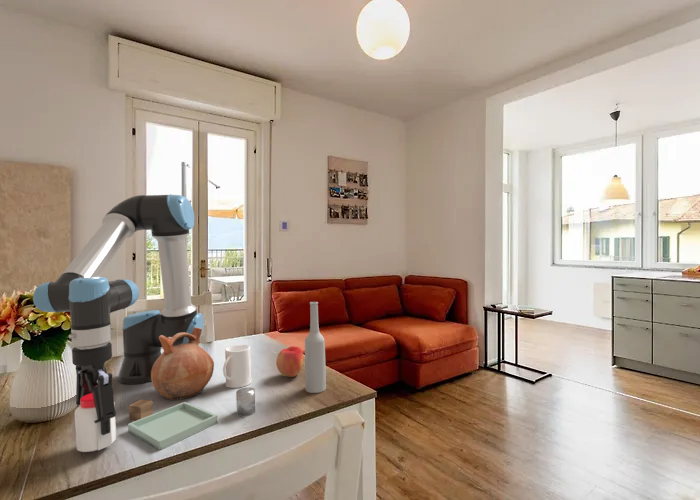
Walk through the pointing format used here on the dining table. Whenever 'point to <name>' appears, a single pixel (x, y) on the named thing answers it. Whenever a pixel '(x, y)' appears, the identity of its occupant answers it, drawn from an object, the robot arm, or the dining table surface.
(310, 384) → the bottle
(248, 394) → the grey tin
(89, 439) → the pill bottle
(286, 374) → the apple
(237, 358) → the mug
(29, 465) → the dining table surface
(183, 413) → the tray
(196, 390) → the jug
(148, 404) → the walnut block
